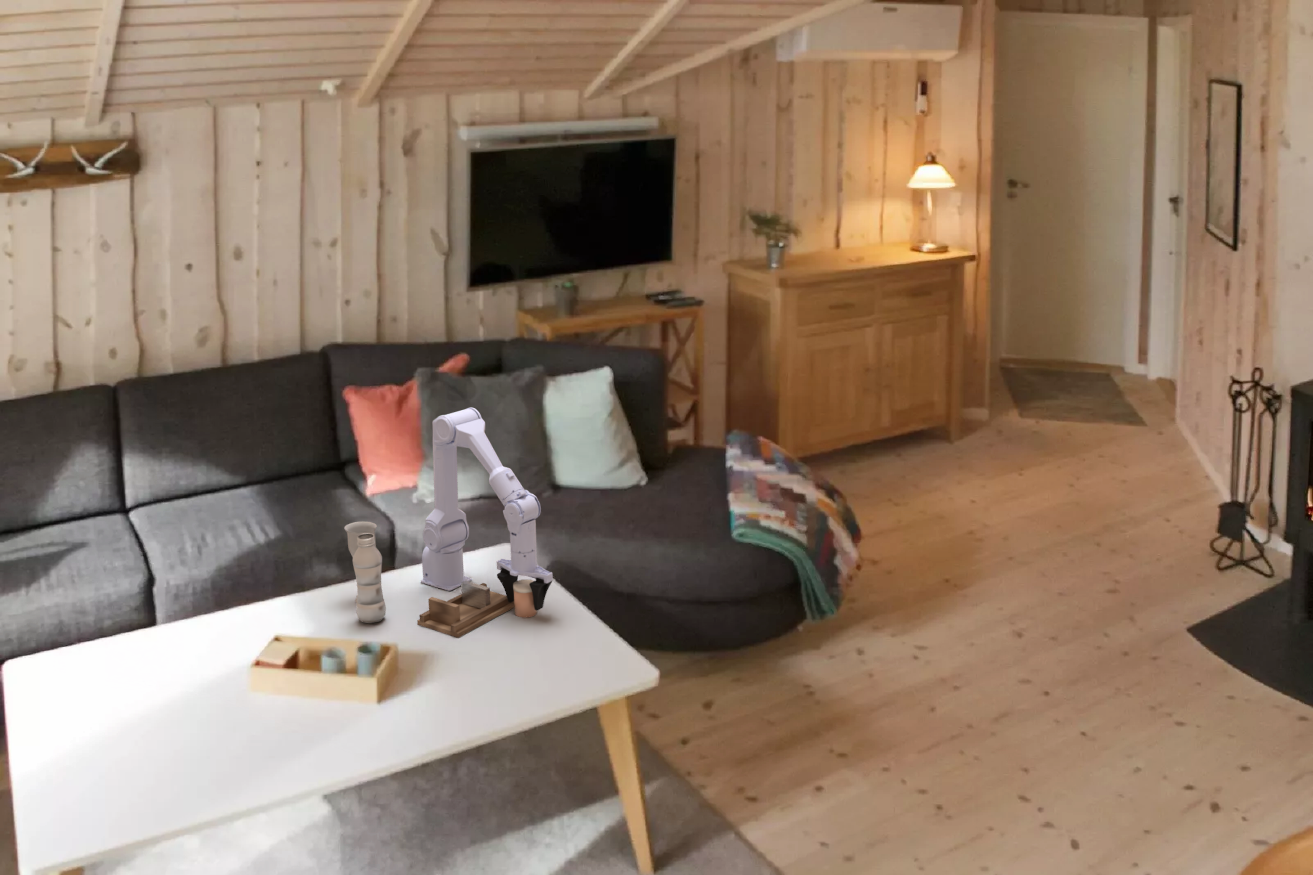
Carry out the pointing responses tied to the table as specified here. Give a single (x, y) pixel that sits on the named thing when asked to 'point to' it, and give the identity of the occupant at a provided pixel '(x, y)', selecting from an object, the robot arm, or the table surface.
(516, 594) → the jar
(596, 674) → the table surface
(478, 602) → the plate
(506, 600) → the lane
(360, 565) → the plastic bottle
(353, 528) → the chalice
